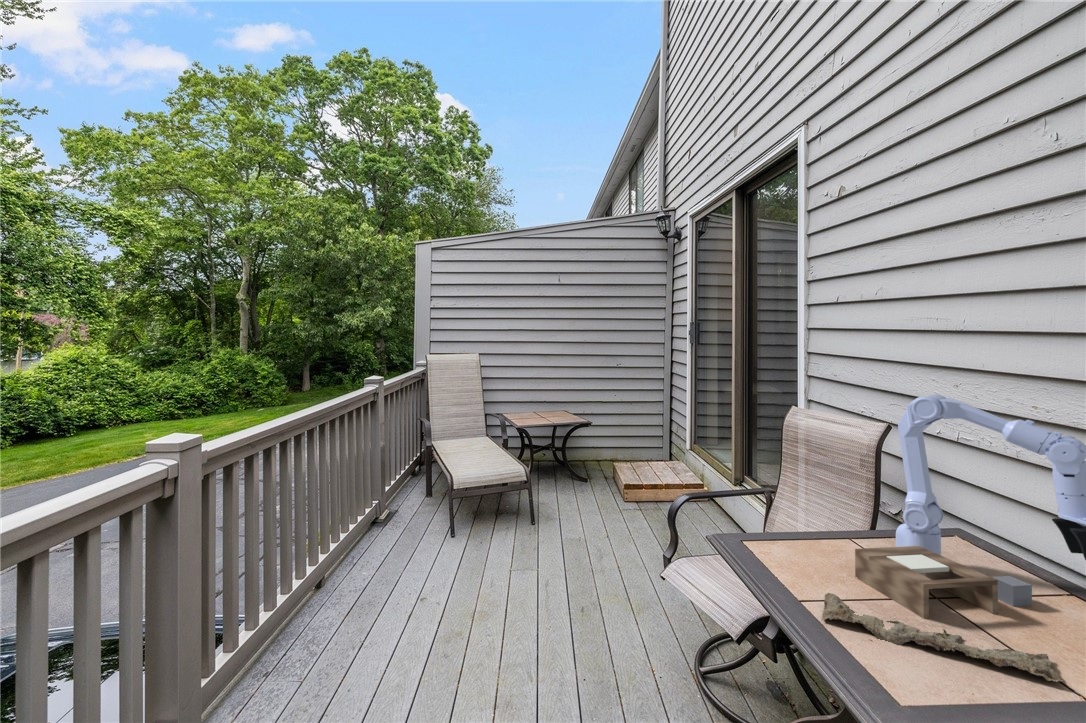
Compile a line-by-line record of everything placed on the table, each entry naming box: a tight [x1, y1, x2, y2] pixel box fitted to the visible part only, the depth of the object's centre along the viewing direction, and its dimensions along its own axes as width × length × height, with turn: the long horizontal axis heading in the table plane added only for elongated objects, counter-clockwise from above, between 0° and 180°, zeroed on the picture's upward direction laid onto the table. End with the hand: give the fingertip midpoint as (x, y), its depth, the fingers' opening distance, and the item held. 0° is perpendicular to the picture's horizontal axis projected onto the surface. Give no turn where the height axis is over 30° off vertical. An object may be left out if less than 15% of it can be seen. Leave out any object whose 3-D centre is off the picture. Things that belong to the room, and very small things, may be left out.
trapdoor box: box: [854, 546, 999, 619], centre depth 110 cm, size 19×17×7 cm
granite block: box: [991, 575, 1033, 608], centre depth 107 cm, size 4×4×4 cm
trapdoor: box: [887, 555, 949, 573], centre depth 111 cm, size 7×9×1 cm
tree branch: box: [821, 592, 1065, 683], centre depth 92 cm, size 34×10×3 cm, turn 55°
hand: (1085, 558), depth 103 cm, fingers open, 7 cm apart
